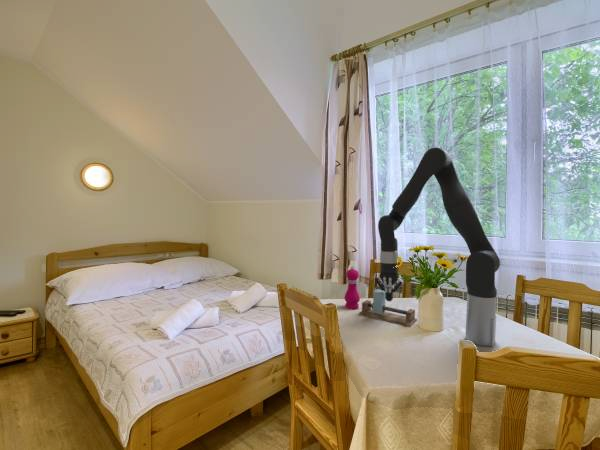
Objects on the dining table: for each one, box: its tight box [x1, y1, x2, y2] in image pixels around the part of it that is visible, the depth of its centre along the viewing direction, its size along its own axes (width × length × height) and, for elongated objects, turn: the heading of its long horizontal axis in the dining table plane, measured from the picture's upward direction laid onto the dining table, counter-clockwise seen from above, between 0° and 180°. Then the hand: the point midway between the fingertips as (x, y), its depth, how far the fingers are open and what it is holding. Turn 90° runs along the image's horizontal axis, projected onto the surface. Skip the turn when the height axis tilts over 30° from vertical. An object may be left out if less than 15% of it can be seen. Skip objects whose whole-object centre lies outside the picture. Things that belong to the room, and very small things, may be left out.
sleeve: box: [372, 289, 387, 315], centre depth 143 cm, size 4×4×9 cm
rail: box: [358, 299, 418, 327], centre depth 141 cm, size 23×8×5 cm, turn 53°
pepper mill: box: [344, 266, 361, 310], centre depth 155 cm, size 7×7×20 cm
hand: (389, 300), depth 141 cm, fingers closed
